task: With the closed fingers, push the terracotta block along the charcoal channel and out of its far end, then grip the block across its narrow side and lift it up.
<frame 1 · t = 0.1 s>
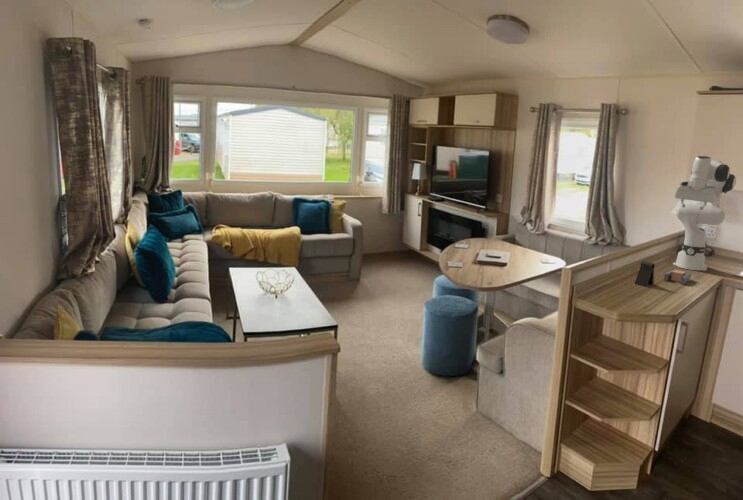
hand: (692, 208, 320), 39 cm above the countertop, tool pointing down, fingers open, 8 cm apart
channel: (677, 280, 313), on the countertop
phone stand: (644, 284, 301), on the countertop
block: (677, 280, 314), on the countertop
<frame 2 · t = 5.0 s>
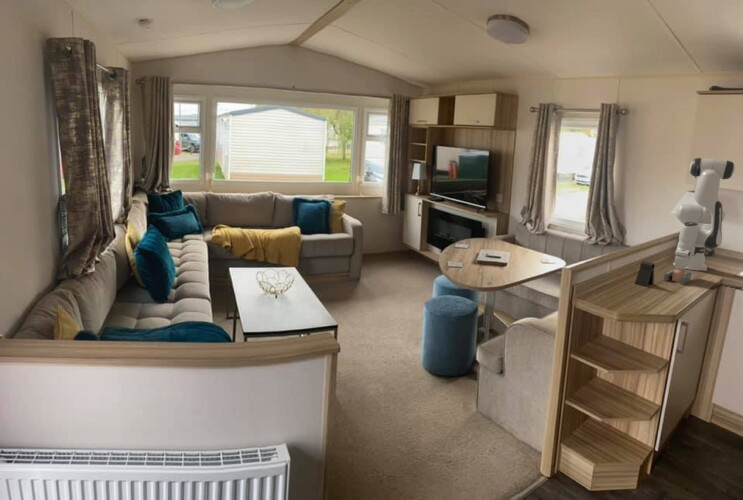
hand: (680, 274, 318), 2 cm above the countertop, tool pointing down, fingers closed
block: (677, 280, 314), on the countertop, touching gripper
everything else where it was.
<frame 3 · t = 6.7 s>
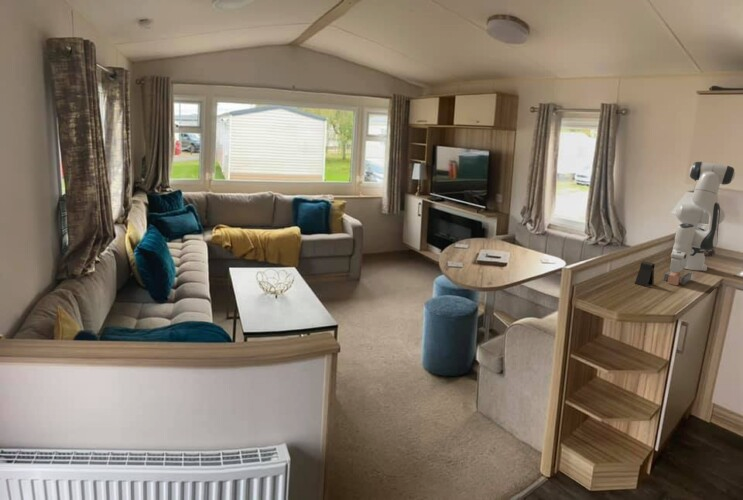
hand: (676, 277, 311), 2 cm above the countertop, tool pointing down, fingers closed
block: (673, 283, 307), on the countertop, touching gripper
everything else where it was.
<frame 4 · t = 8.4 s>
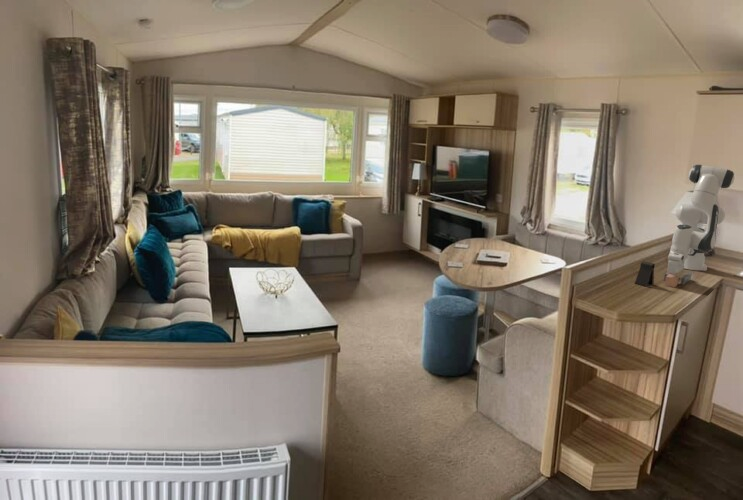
hand: (674, 279, 307), 2 cm above the countertop, tool pointing down, fingers closed
block: (670, 285, 303), on the countertop
everything else where it was.
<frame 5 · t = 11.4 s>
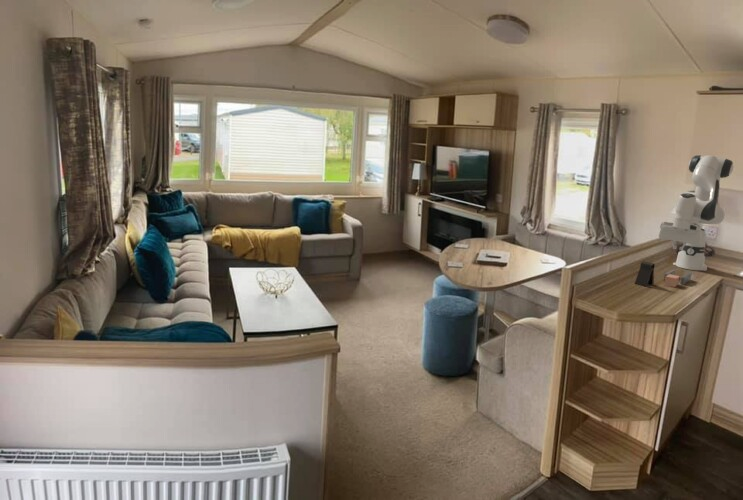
hand: (677, 249, 299), 19 cm above the countertop, tool pointing down, fingers closed
nothing on the countertop moved.
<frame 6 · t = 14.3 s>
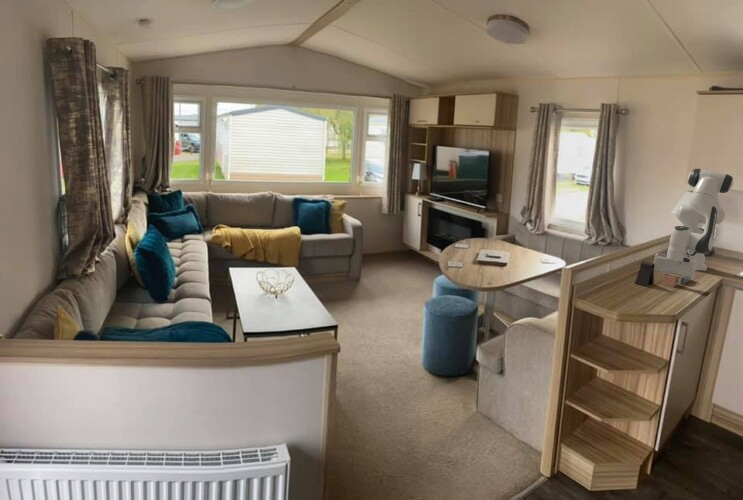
hand: (671, 281, 303), 2 cm above the countertop, tool pointing down, fingers closed on block, 5 cm apart
block: (670, 284, 303), on the countertop, touching gripper
everything else where it was.
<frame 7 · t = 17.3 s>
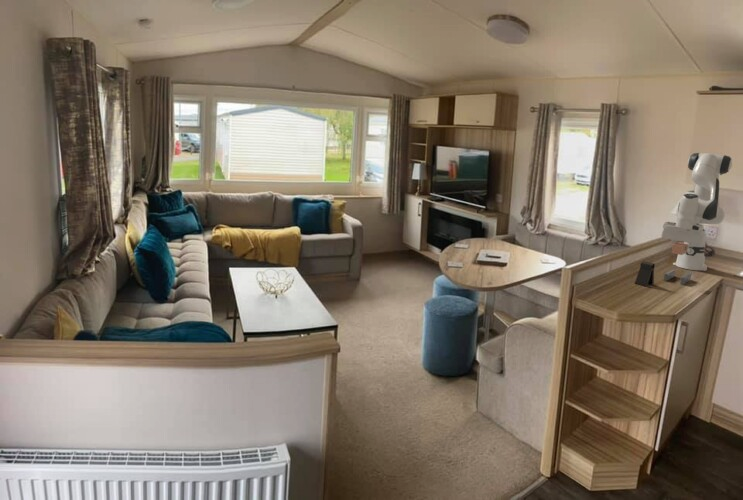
hand: (680, 249, 303), 19 cm above the countertop, tool pointing down, fingers closed on block, 5 cm apart
block: (678, 252, 303), point 17 cm above the countertop, touching gripper
everything else where it was.
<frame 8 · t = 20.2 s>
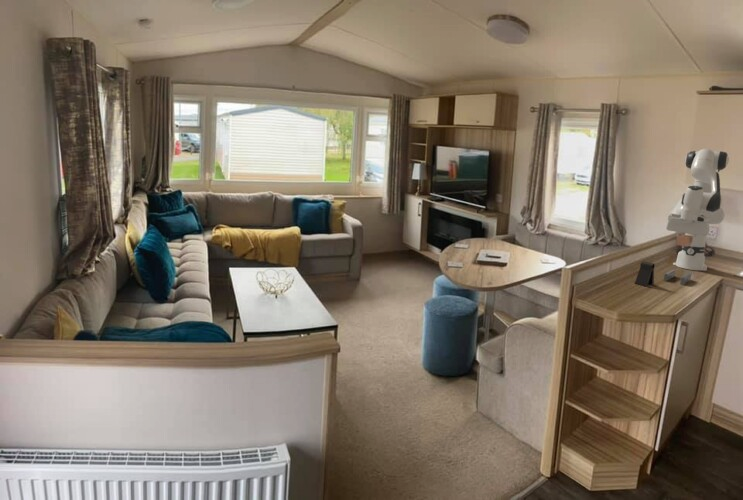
hand: (685, 241, 305), 23 cm above the countertop, tool pointing down, fingers closed on block, 5 cm apart
block: (684, 244, 305), point 21 cm above the countertop, touching gripper
everything else where it was.
at the end: the gripper is holding block; block point 21.1 cm above the countertop; block moved 21.9 cm from its start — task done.
